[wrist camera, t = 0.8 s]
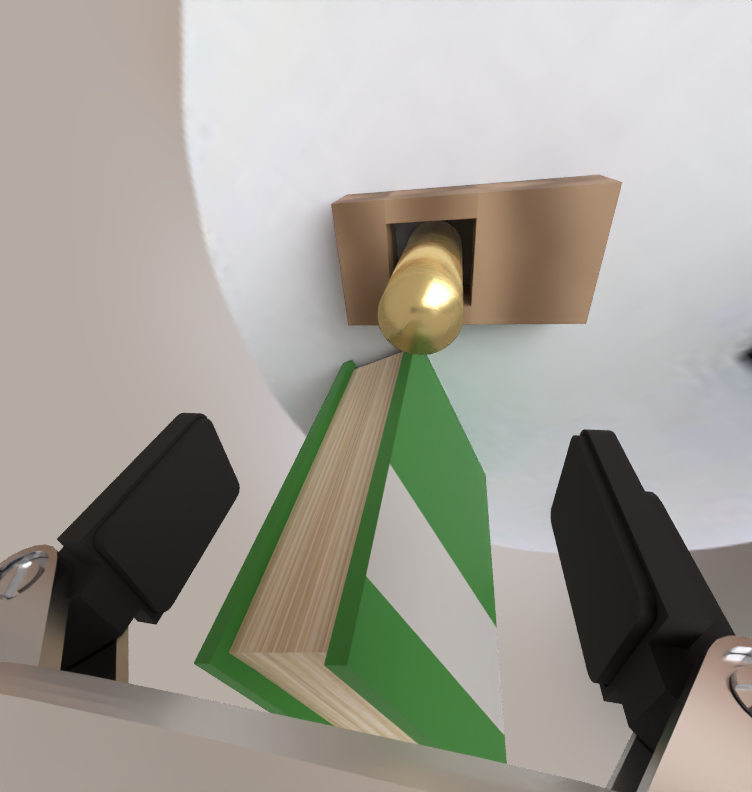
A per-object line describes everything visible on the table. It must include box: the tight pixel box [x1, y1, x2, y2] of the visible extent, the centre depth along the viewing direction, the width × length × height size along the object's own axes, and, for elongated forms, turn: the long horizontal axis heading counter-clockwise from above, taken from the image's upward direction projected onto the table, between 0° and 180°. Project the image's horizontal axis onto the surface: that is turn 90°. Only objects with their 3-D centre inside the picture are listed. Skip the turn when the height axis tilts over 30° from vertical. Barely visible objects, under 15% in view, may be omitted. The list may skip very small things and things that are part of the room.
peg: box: [378, 221, 463, 355], centre depth 22 cm, size 4×4×12 cm
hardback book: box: [194, 351, 507, 764], centre depth 27 cm, size 18×7×24 cm, turn 28°
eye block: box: [331, 175, 622, 325], centre depth 25 cm, size 16×8×4 cm, turn 95°
